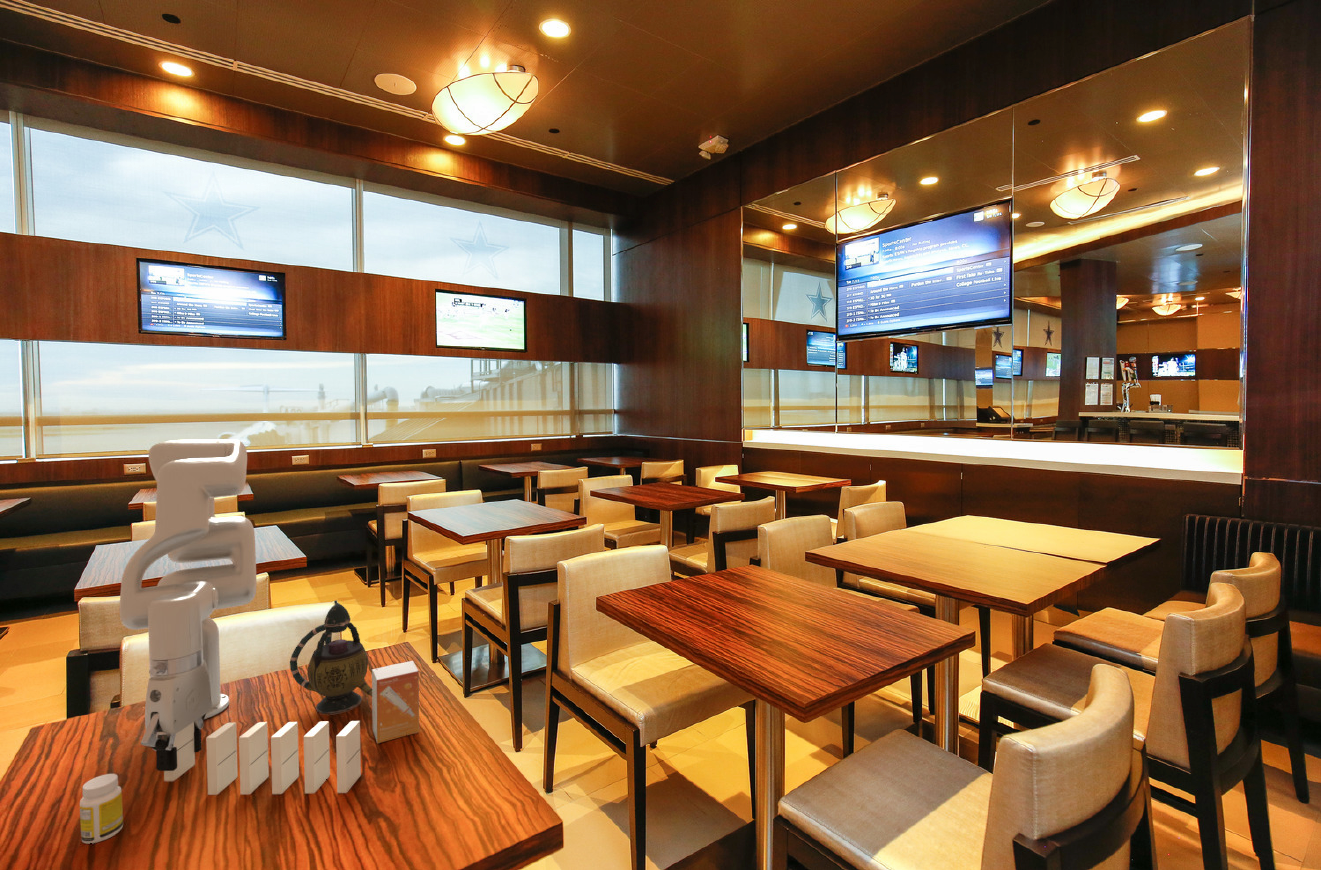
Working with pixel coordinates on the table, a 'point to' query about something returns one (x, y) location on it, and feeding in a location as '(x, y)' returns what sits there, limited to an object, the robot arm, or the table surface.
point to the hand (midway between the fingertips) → (179, 759)
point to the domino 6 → (348, 756)
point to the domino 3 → (253, 757)
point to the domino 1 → (182, 752)
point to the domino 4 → (284, 757)
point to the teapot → (334, 665)
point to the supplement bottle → (101, 809)
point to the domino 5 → (316, 756)
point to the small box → (395, 701)
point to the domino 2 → (221, 758)
